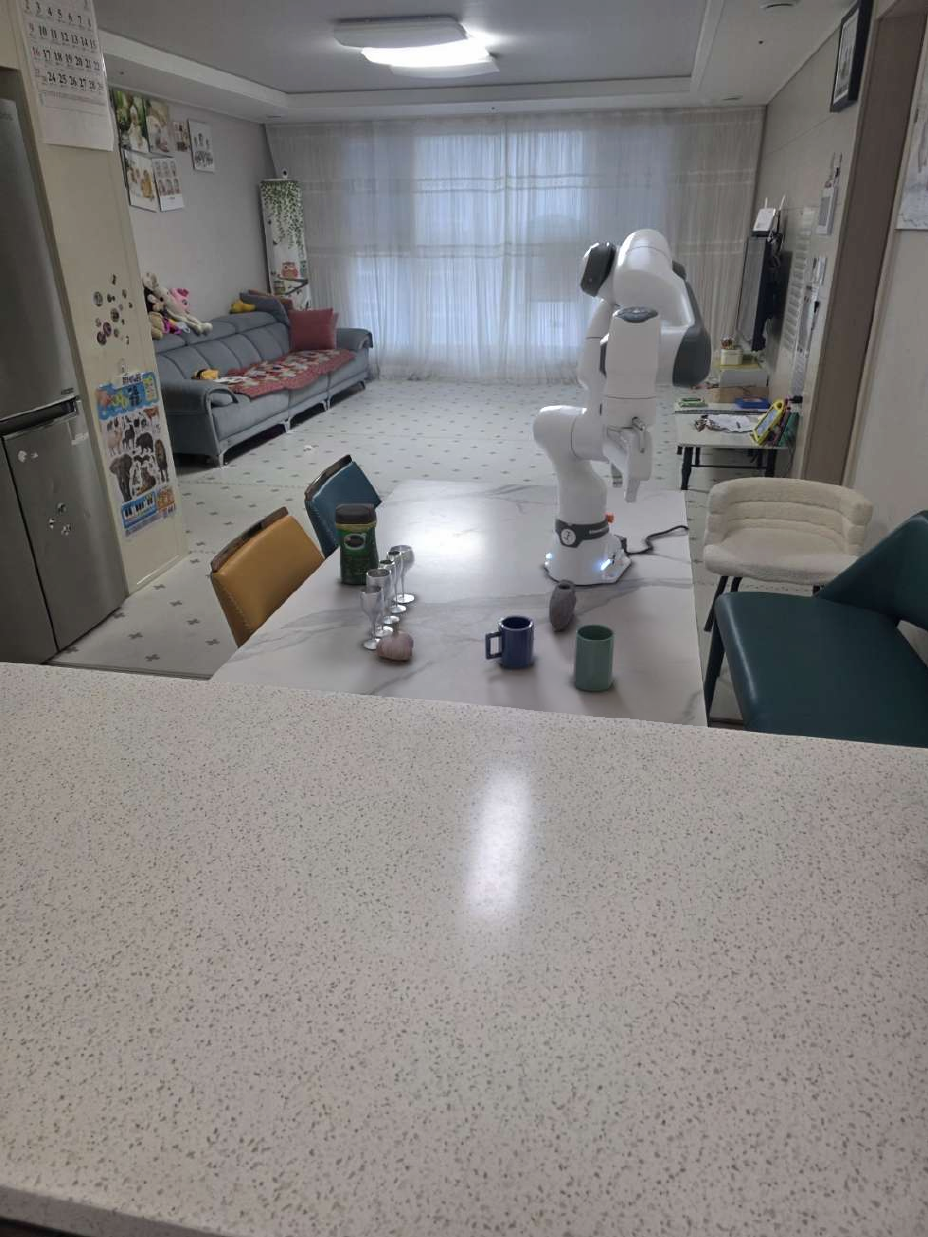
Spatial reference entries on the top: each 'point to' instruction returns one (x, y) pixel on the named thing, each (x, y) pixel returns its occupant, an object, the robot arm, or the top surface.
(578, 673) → the green cup
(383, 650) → the garlic bulb
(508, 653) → the mug
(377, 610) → the goblet set
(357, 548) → the coffee jar
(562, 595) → the perforated stone tool
